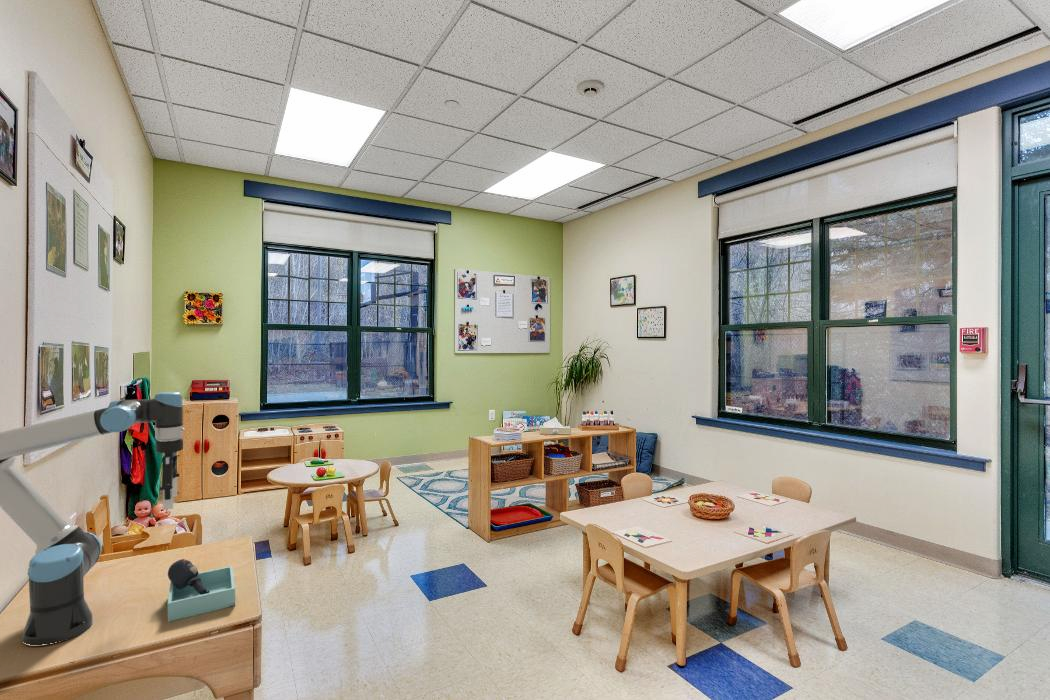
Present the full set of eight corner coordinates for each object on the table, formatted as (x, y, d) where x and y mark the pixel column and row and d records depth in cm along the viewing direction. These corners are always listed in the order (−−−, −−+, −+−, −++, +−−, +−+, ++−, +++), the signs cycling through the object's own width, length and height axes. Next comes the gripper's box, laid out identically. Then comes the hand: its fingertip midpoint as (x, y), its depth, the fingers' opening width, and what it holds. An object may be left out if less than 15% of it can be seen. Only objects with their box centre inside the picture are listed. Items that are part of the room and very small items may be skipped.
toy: (208, 584, 166) (177, 553, 169) (187, 606, 163) (156, 573, 166) (220, 585, 175) (191, 554, 178) (200, 605, 172) (170, 574, 174)
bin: (168, 621, 156) (167, 603, 156) (171, 594, 172) (171, 578, 172) (235, 605, 166) (234, 588, 165) (232, 581, 182) (232, 565, 181)
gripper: (179, 445, 163) (180, 512, 164) (186, 431, 185) (186, 491, 186) (150, 447, 160) (151, 516, 160) (160, 433, 182) (161, 494, 182)
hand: (170, 502), depth 173 cm, fingers open, 13 cm apart
